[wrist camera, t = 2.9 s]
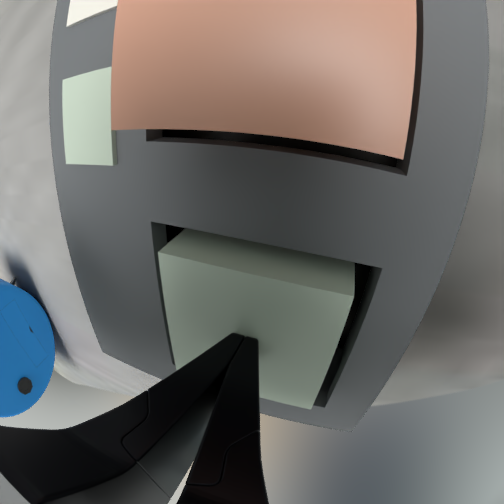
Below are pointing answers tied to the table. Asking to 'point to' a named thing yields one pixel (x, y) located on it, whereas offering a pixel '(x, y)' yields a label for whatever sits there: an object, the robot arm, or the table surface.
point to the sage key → (258, 307)
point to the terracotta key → (268, 69)
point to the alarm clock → (23, 350)
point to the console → (267, 200)
